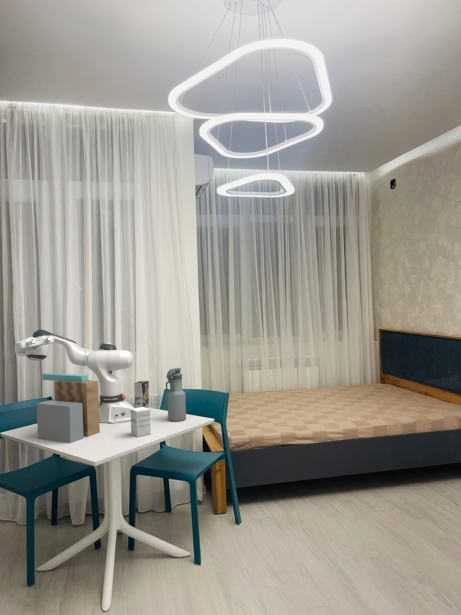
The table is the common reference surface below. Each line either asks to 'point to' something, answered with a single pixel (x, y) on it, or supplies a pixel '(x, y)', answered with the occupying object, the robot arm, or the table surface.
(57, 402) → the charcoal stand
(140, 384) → the coffee box
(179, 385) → the water bottle
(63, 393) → the walnut stand
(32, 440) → the table surface
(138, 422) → the supplement box
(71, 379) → the teal batten
